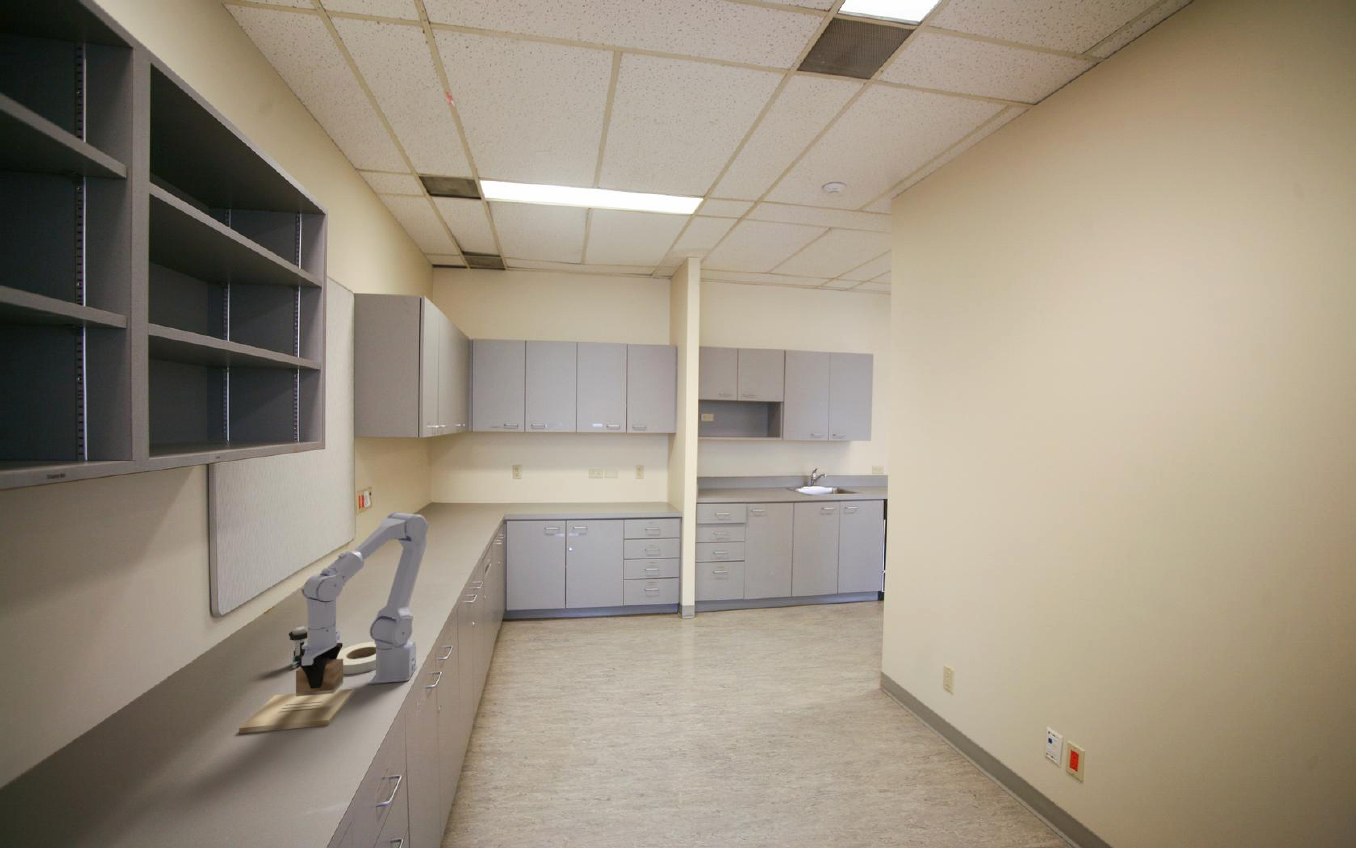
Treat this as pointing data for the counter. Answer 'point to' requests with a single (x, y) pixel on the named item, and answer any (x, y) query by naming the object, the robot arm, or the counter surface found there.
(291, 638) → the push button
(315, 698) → the board
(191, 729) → the counter surface
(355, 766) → the counter surface
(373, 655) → the roll of tape
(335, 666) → the block
